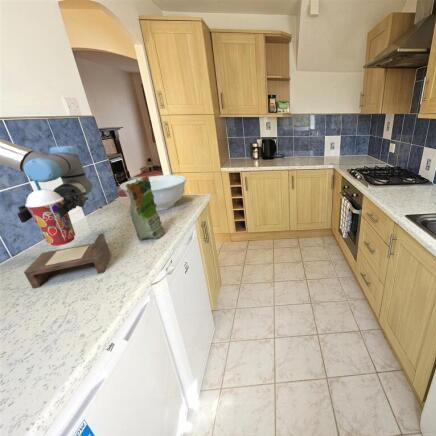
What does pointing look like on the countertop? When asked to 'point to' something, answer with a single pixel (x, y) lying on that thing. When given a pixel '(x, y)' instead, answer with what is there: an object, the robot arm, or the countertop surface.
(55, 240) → the smoothie
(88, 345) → the countertop surface
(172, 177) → the bowl
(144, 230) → the pouch
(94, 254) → the shelf
